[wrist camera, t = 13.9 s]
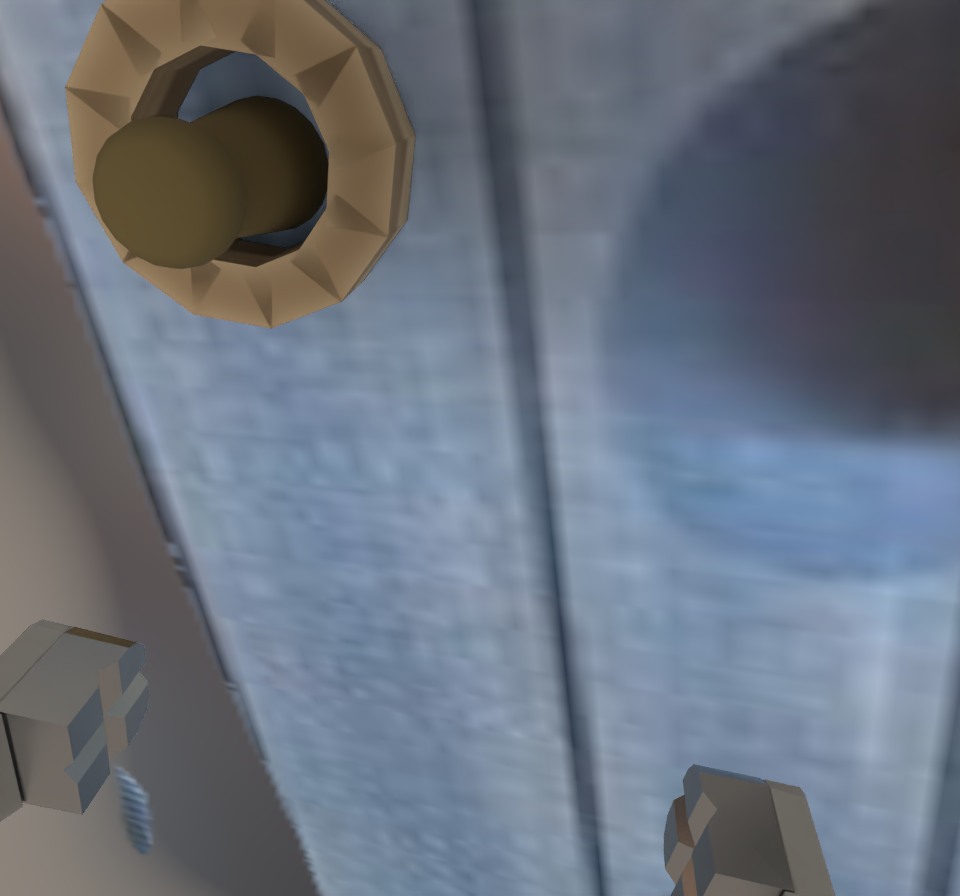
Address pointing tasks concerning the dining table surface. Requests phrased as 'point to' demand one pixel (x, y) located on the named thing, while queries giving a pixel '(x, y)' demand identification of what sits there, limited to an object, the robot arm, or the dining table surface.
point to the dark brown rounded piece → (209, 180)
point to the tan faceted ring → (333, 102)
